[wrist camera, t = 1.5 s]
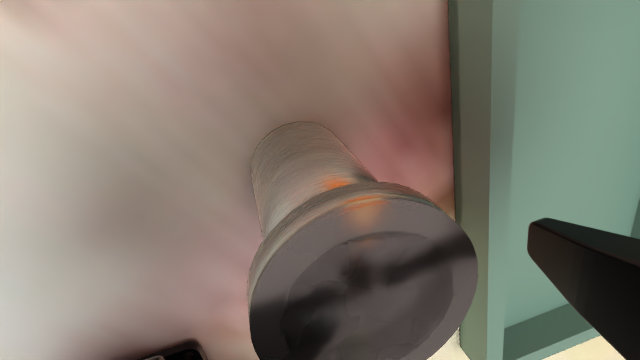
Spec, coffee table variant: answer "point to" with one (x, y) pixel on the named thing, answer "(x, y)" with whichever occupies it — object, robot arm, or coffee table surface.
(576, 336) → the tray
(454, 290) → the grey flanged cylinder
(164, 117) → the coffee table surface
